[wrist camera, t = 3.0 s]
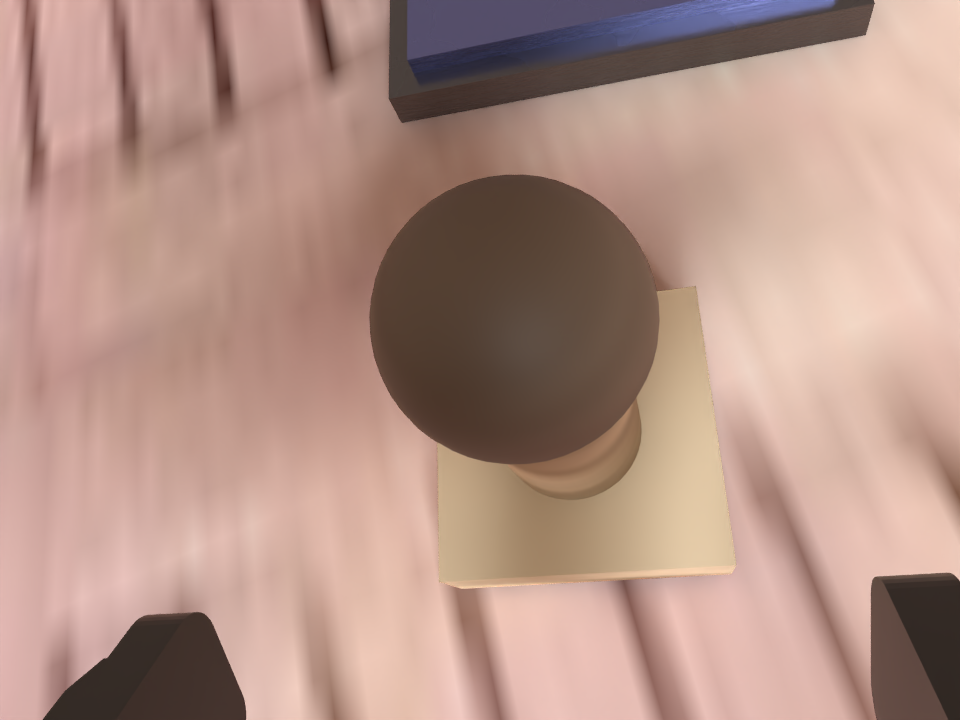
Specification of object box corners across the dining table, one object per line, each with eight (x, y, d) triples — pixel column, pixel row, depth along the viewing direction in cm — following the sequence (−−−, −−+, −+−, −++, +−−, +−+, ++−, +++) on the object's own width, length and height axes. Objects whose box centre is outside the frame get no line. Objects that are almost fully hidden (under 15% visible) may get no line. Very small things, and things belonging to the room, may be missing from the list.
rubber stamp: (694, 326, 21) (701, 11, 11) (730, 575, 18) (782, 480, 8) (461, 354, 22) (268, 98, 12) (467, 590, 20) (234, 522, 10)
